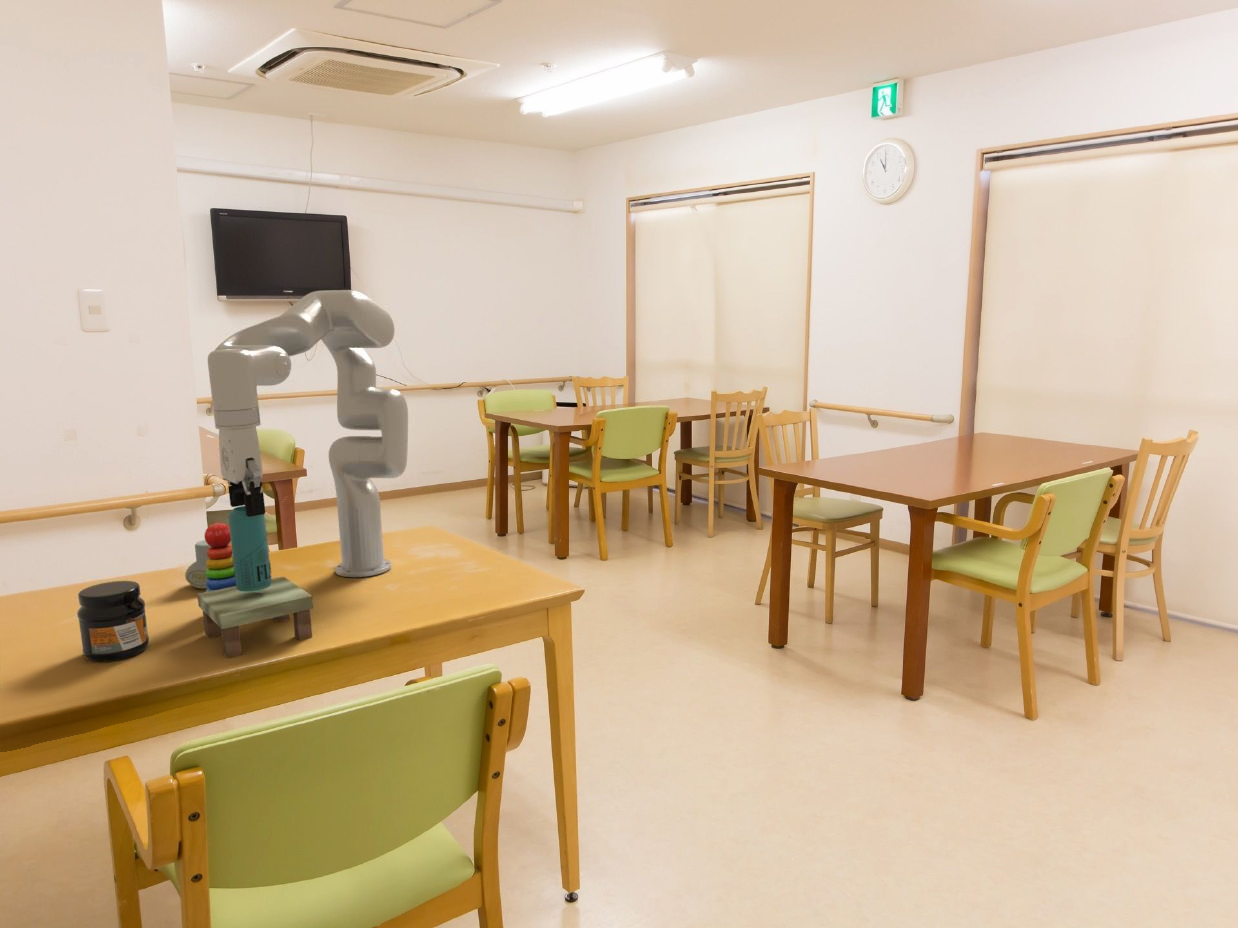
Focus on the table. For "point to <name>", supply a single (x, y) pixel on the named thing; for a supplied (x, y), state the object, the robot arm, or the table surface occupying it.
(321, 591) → the table surface
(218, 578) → the stacking toy
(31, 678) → the table surface
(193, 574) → the grey flask
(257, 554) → the beverage bottle
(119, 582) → the supplement container
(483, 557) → the table surface
